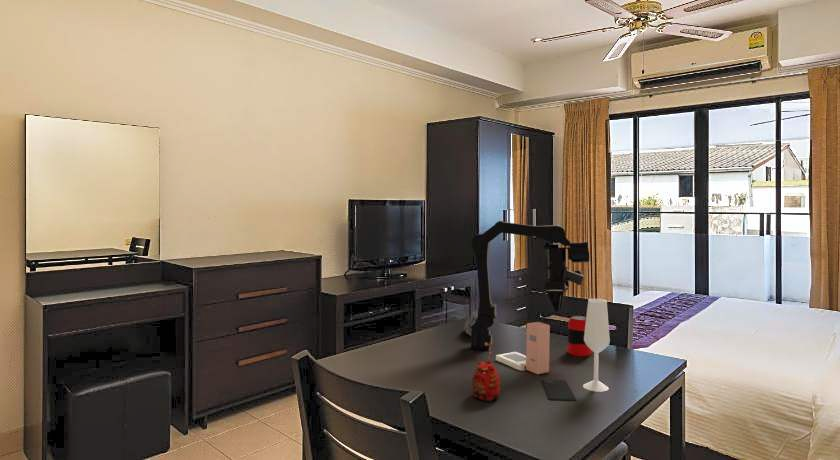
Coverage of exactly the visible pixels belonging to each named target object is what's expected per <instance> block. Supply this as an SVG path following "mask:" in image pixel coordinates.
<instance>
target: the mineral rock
mask: <svg viewBox="0 0 840 460" xmlns="http://www.w3.org/2000/svg"><path fill="white" fill-rule="evenodd" d="M477 316H478V309H475V310H474V311H473V312H472V313H471V314H470V317H469V318H468V319H467V320H466V321H465V323H464V326H463V329H464V332H465V333H466V334H468V335H469V336H470V337H471V330H472V329H471V326H472V324H473V322H474V321H475V320H476V319H477ZM489 328H490V327H489ZM489 328H488V329H489Z"/></svg>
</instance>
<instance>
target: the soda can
mask: <svg viewBox="0 0 840 460" xmlns="http://www.w3.org/2000/svg"><path fill="white" fill-rule="evenodd" d="M585 324H586V316H581V315H578V316H577V315H575V316H571V317H570V319H569V320H568V321H567V353H568V354H569V355H571V356H576V357H589V356H590V355H591V354H592V350H591V349H590V348H589V347H588V346H587V345H586V344H585V342H584V333H585Z"/></svg>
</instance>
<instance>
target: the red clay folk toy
mask: <svg viewBox="0 0 840 460" xmlns="http://www.w3.org/2000/svg"><path fill="white" fill-rule="evenodd" d="M493 340H494V338H493V337H492V340H491V342H492V343H491V342H489V344H487V342H485V346H487V345H488V346H489V350H488V357H487V361H486V362H483V361H478V363H477V365H476V369H475V371H474V373H473V377H472V379H471V381H472V388H471V389H472V395H473V397H474V398H477V399H479V400H480V401H483V402H493V400H496V399H498V397H499V396H500V391H501V379H500V377H499V371H498V370H497V369H496V367H495V365H493V364H492V361H491V356H492V352H491V351H492V345H493Z"/></svg>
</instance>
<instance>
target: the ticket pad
mask: <svg viewBox="0 0 840 460" xmlns="http://www.w3.org/2000/svg"><path fill="white" fill-rule="evenodd" d="M495 361H497V362H499V363H501V364H505V365H507V366H509V367H511V368H513V369H516V370H518V371H522V372H523V371H527V370H526V355H525V354H524V353H523V354H522V353H520V352H518V351H512V352H507V353H502V354H501V353H500V354H496V355H495Z"/></svg>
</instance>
